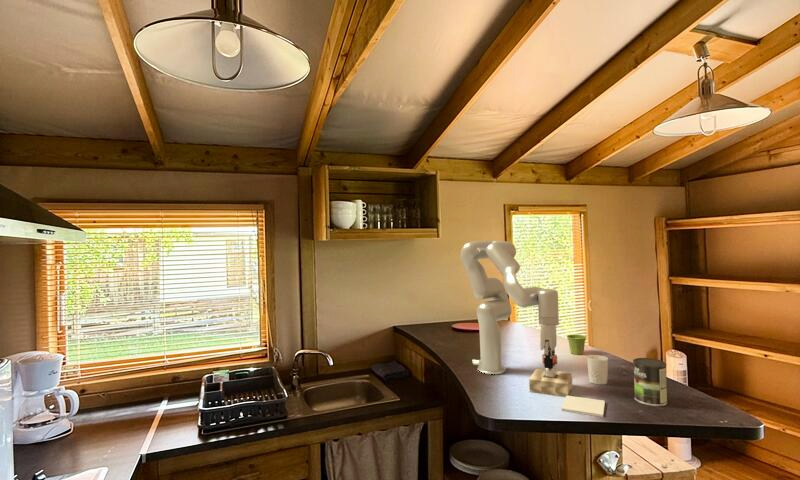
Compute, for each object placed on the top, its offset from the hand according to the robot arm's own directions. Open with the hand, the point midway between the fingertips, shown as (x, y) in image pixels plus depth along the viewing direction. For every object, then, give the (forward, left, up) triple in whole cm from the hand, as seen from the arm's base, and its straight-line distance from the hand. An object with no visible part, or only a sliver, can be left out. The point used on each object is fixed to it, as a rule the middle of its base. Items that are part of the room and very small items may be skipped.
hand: (549, 365), depth 166 cm
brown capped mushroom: (0, 0, -9) cm, 9 cm away
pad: (+13, -14, -9) cm, 21 cm away
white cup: (+16, +15, -9) cm, 24 cm away
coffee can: (+34, +1, -9) cm, 36 cm away
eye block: (0, 0, -9) cm, 9 cm away
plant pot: (+4, +56, -9) cm, 57 cm away
